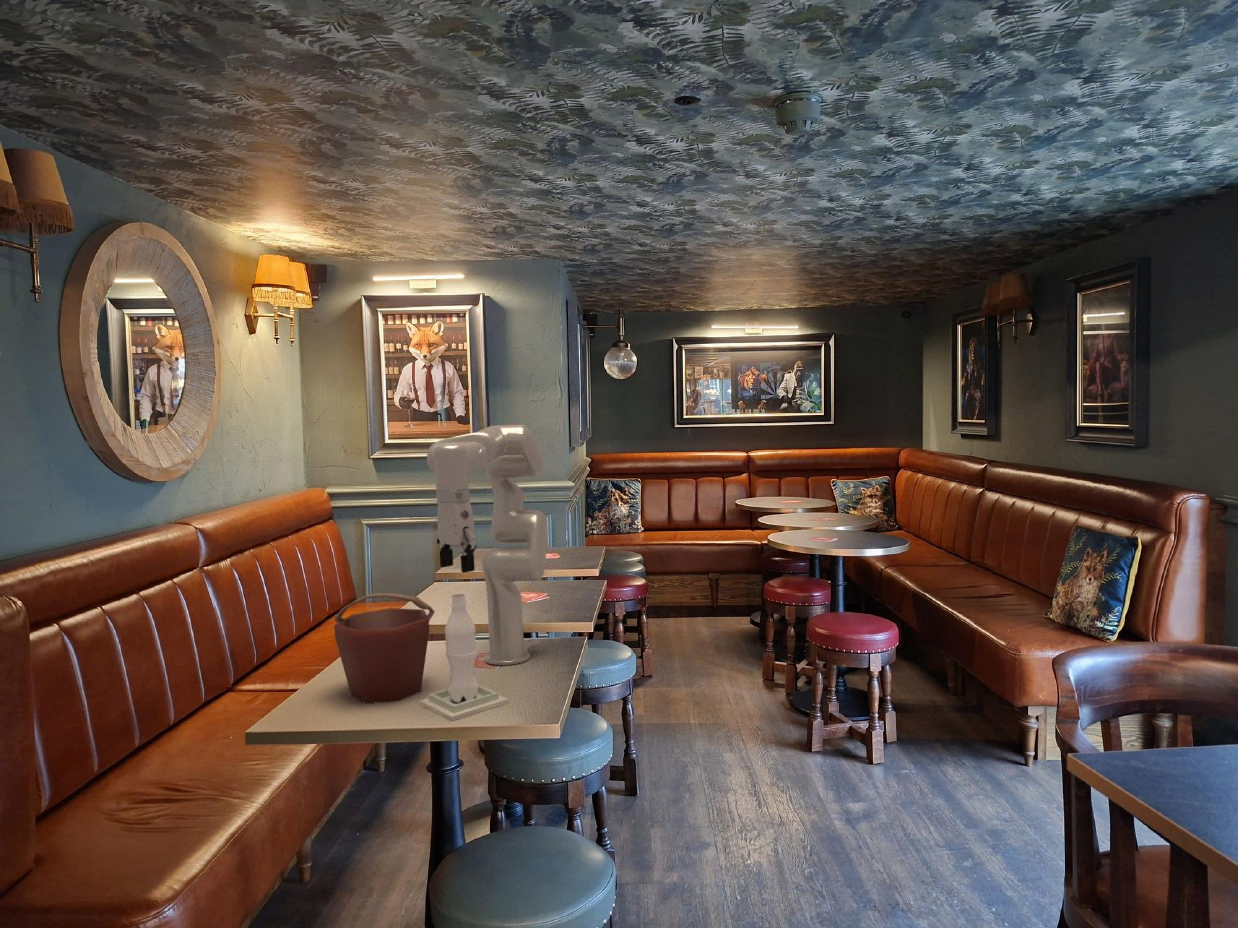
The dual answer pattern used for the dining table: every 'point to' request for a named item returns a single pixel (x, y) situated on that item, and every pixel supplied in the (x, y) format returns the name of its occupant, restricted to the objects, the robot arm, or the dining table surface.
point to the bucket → (384, 649)
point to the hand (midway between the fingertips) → (457, 568)
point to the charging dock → (462, 703)
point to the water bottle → (461, 651)
